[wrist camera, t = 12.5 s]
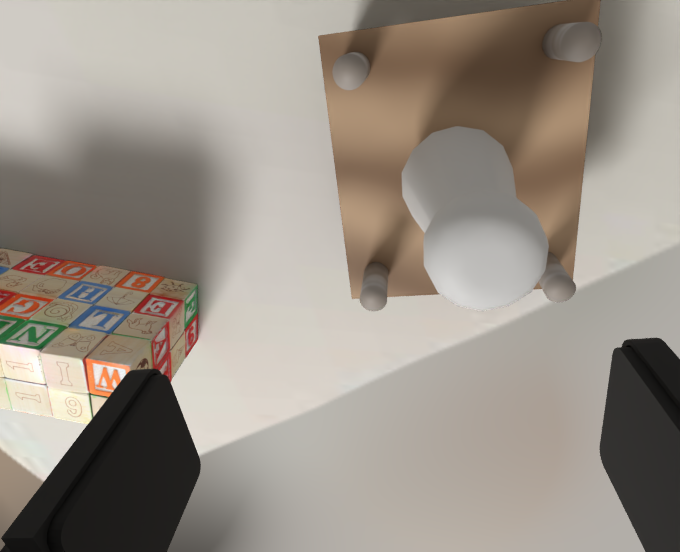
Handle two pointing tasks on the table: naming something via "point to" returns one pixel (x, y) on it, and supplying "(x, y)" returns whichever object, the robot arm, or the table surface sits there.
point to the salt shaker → (473, 220)
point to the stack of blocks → (85, 332)
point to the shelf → (465, 111)
